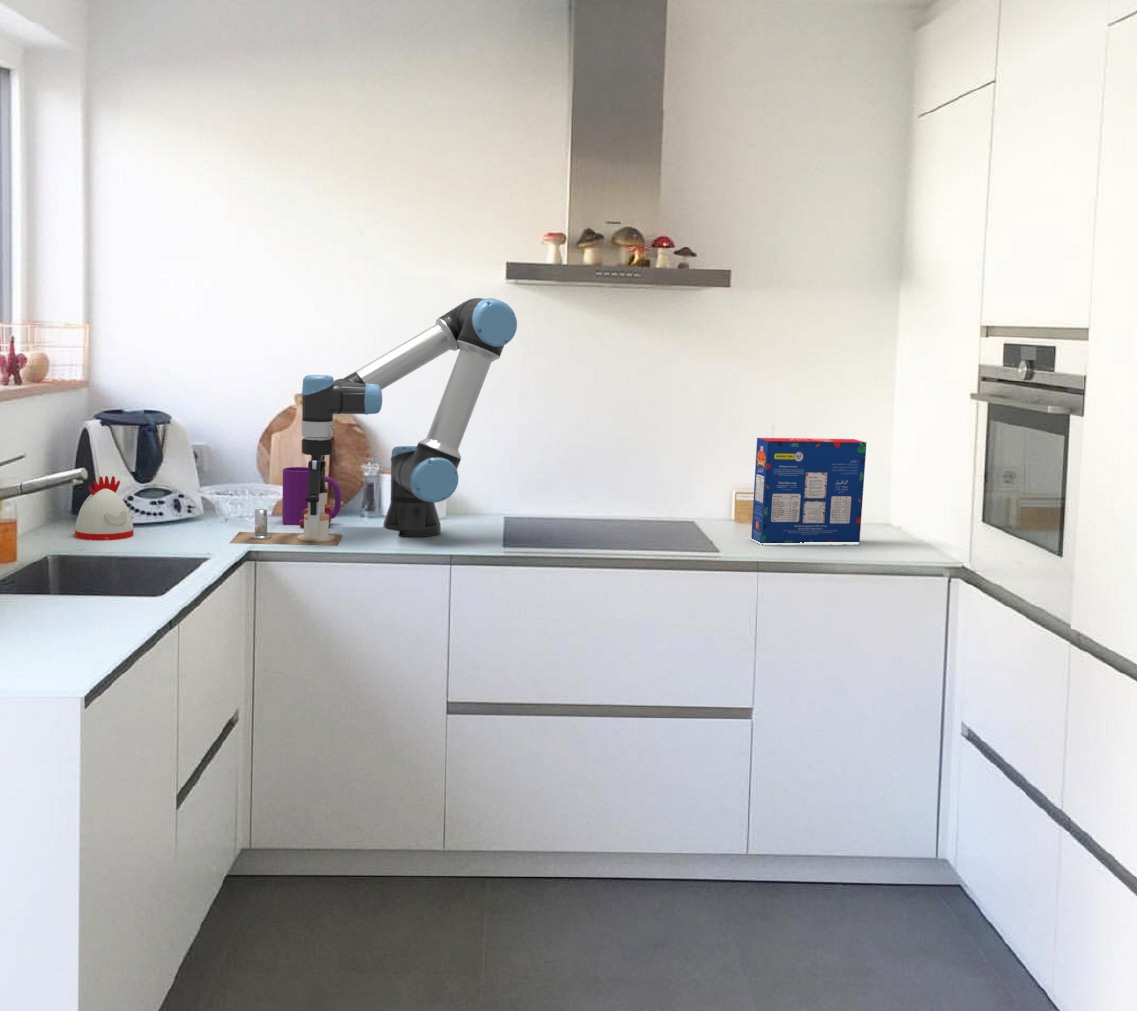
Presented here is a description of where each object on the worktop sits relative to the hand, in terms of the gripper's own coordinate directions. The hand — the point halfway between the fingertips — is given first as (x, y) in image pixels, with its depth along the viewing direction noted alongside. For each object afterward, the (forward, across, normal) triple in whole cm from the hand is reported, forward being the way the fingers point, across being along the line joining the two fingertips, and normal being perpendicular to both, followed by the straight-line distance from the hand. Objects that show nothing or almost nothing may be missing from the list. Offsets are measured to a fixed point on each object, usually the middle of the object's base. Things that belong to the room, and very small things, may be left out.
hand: (316, 523), depth 346 cm
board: (+5, 0, +7) cm, 9 cm away
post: (+4, 0, +14) cm, 14 cm away
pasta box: (+6, +20, -129) cm, 131 cm away
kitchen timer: (+6, +7, +53) cm, 54 cm away
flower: (+6, +19, +2) cm, 20 cm away
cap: (+3, 0, 0) cm, 3 cm away
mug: (+6, +31, +4) cm, 32 cm away
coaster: (+4, 0, 0) cm, 4 cm away
